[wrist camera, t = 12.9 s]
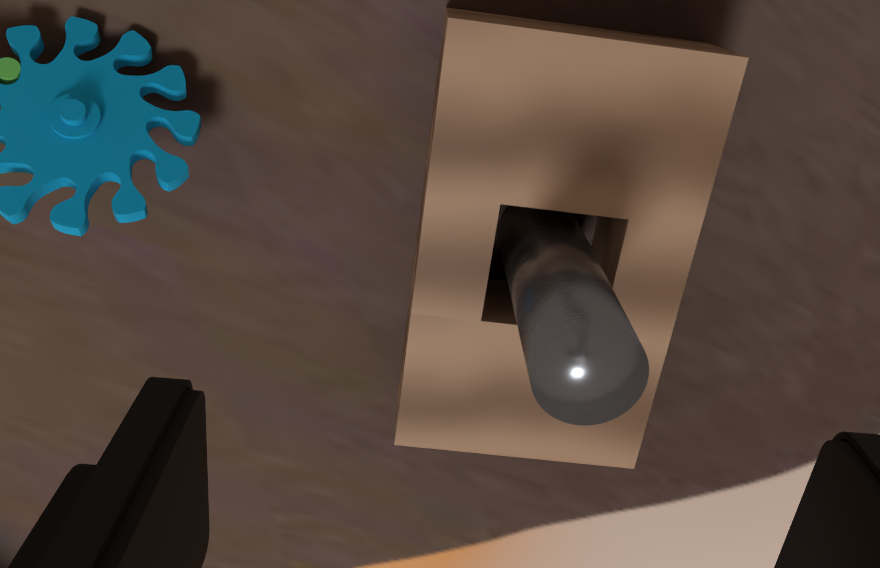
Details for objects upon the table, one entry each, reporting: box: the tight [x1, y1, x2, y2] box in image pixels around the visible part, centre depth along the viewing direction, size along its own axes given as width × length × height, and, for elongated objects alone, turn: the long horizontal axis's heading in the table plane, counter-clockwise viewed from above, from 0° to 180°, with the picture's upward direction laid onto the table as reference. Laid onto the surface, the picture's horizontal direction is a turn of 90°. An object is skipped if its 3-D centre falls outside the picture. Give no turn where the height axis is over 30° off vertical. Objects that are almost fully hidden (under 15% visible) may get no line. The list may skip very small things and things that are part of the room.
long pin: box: [498, 205, 649, 426], centre depth 32 cm, size 4×4×14 cm
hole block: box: [394, 7, 749, 469], centre depth 37 cm, size 20×12×5 cm, turn 173°
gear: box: [0, 16, 201, 236], centre depth 34 cm, size 11×6×10 cm
